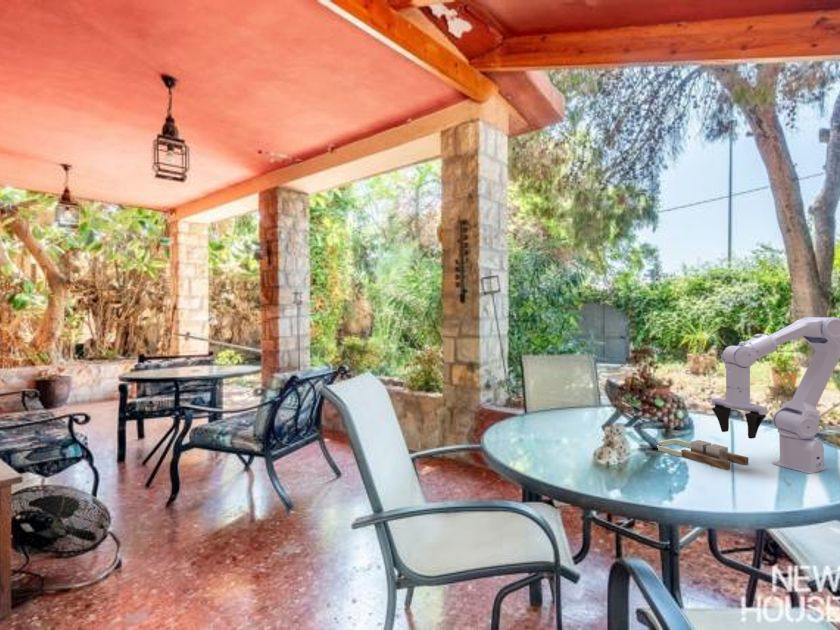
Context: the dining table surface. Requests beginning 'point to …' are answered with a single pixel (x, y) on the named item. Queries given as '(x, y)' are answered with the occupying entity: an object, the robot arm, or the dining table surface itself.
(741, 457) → the slot rails
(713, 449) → the grey brown cube
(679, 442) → the beige open frame
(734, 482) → the dining table surface
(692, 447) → the greyish beige cube
